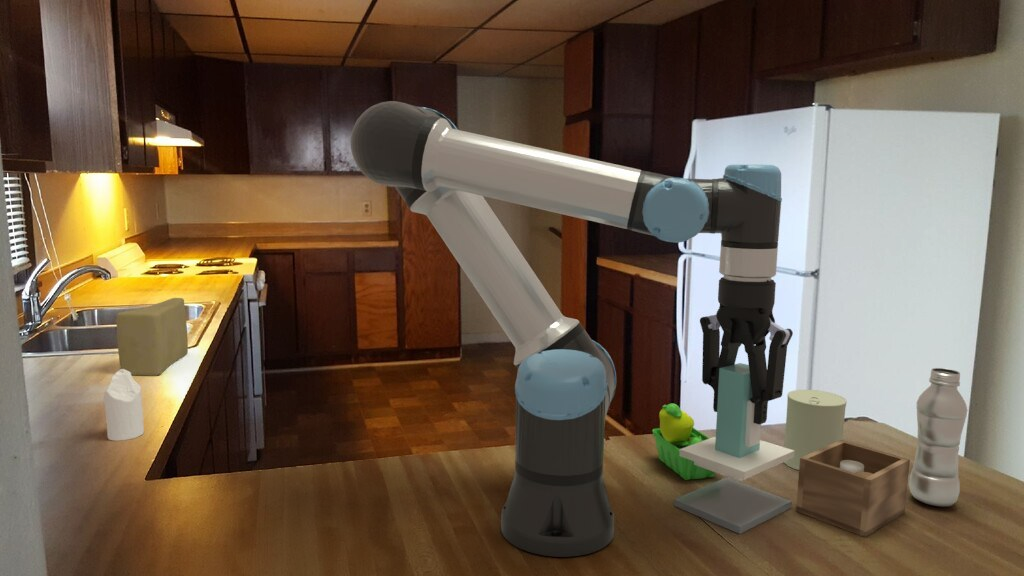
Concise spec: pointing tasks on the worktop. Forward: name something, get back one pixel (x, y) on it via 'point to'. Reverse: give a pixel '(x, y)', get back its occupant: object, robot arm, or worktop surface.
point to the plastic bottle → (938, 440)
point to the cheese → (152, 337)
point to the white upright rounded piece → (123, 407)
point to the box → (852, 487)
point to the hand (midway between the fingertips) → (737, 439)
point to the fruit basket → (678, 442)
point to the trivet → (733, 504)
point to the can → (812, 422)
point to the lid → (734, 433)
